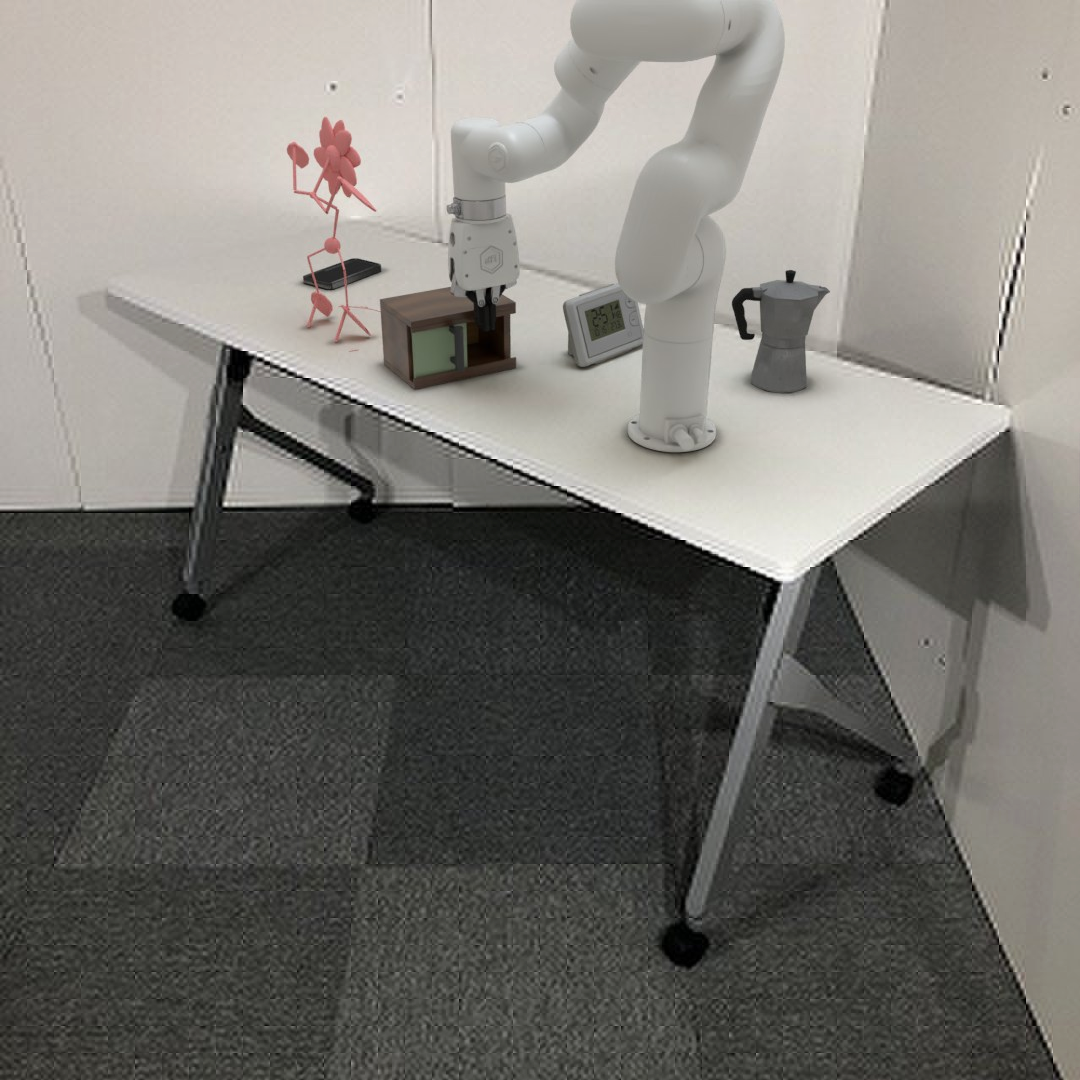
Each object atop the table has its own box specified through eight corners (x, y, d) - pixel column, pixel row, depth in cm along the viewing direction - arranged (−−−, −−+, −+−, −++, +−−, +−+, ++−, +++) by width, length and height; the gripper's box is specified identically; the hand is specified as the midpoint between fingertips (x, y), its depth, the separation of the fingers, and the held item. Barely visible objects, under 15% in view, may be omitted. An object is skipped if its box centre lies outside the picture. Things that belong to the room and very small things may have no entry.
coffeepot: (806, 367, 194) (820, 258, 185) (829, 390, 186) (844, 277, 177) (715, 374, 191) (724, 263, 182) (734, 397, 183) (745, 283, 174)
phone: (383, 264, 235) (329, 284, 225) (383, 270, 236) (330, 290, 225) (353, 257, 239) (299, 276, 229) (354, 262, 240) (300, 282, 229)
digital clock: (578, 372, 192) (579, 308, 186) (547, 354, 198) (547, 292, 193) (658, 351, 200) (661, 289, 194) (625, 335, 206) (627, 275, 201)
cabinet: (516, 367, 193) (515, 302, 188) (414, 389, 185) (411, 321, 180) (482, 344, 202) (480, 281, 196) (383, 364, 194) (379, 299, 189)
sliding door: (477, 375, 187) (475, 324, 183) (424, 387, 183) (422, 334, 179) (465, 367, 190) (464, 316, 186) (413, 378, 186) (411, 326, 182)
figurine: (357, 358, 196) (340, 138, 179) (279, 316, 213) (257, 111, 196) (434, 337, 205) (425, 125, 187) (353, 298, 222) (338, 100, 204)
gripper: (445, 221, 169) (453, 344, 178) (537, 205, 175) (540, 326, 184) (423, 209, 175) (431, 330, 184) (512, 195, 181) (516, 312, 190)
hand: (485, 327), depth 184 cm, fingers closed
